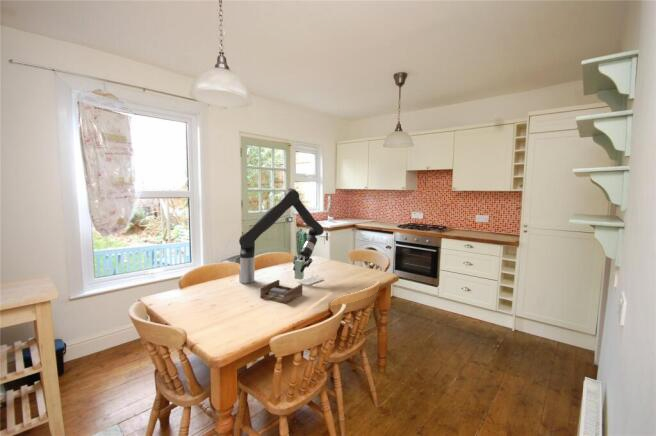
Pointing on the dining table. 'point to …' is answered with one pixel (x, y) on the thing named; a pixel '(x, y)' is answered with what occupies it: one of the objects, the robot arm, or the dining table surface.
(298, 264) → the grey-green block
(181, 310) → the dining table surface
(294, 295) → the rack
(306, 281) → the pale grey flat slab
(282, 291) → the offcut short
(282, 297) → the offcut long
